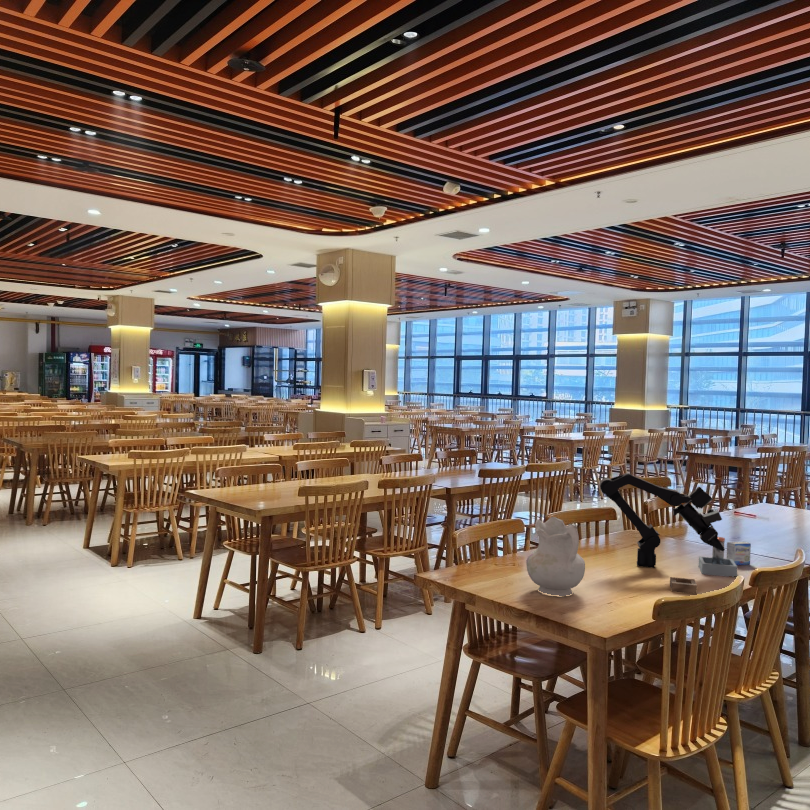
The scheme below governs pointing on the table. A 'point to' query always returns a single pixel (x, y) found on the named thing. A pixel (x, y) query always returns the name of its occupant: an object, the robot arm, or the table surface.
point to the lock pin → (718, 553)
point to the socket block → (683, 585)
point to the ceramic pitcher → (556, 558)
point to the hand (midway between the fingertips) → (722, 547)
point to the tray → (717, 567)
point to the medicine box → (739, 552)
